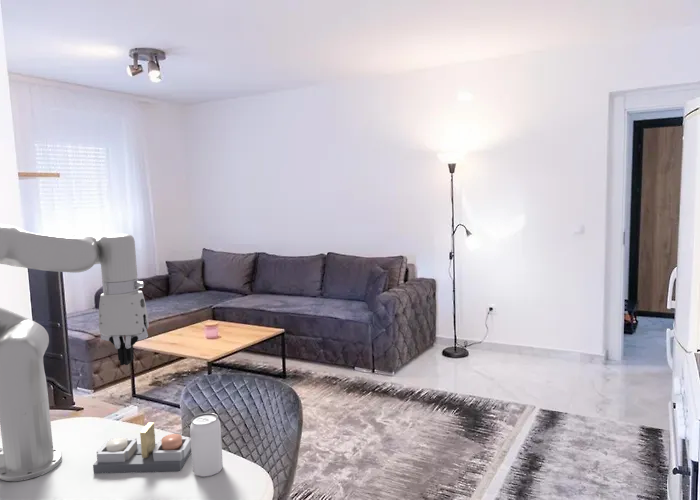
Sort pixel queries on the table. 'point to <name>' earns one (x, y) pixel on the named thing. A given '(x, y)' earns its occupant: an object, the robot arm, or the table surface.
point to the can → (206, 445)
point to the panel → (135, 463)
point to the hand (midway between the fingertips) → (126, 363)
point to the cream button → (117, 444)
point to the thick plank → (147, 439)
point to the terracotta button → (172, 442)
